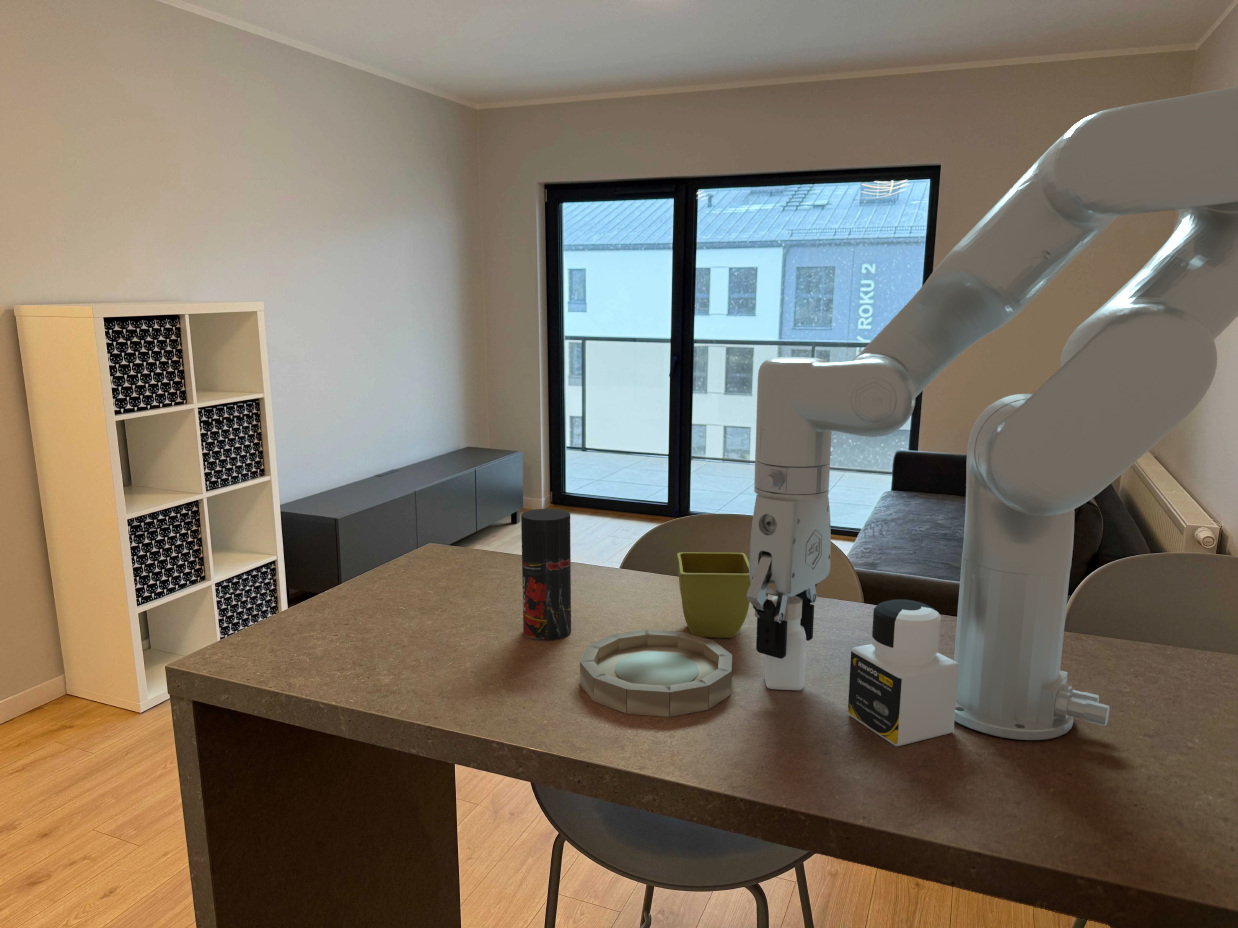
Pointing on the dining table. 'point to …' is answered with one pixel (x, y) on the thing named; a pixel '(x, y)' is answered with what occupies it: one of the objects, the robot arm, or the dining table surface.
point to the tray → (656, 672)
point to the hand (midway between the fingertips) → (784, 644)
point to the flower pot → (714, 592)
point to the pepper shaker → (788, 652)
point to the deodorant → (546, 574)
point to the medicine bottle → (903, 675)
